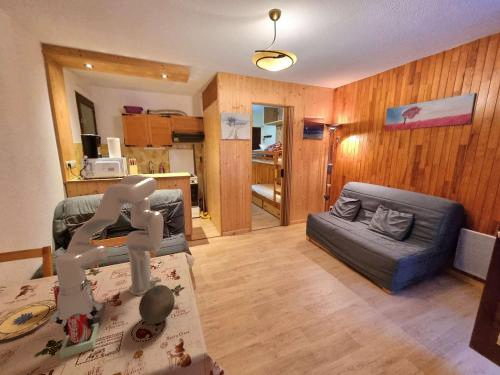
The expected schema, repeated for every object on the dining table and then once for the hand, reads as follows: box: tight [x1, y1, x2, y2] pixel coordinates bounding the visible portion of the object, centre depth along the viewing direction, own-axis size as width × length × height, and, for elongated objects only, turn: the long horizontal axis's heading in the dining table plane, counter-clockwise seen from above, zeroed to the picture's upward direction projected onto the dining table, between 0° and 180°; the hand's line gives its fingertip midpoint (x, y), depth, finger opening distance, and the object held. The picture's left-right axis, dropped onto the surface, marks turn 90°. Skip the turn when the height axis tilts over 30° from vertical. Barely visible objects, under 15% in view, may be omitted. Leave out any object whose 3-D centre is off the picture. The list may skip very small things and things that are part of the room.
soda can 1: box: [53, 281, 60, 308], centre depth 98 cm, size 7×7×12 cm
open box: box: [59, 302, 106, 360], centre depth 86 cm, size 10×22×3 cm, turn 25°
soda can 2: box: [67, 314, 92, 345], centre depth 79 cm, size 6×6×12 cm
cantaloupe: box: [138, 284, 176, 325], centre depth 90 cm, size 14×14×15 cm
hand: (80, 328), depth 79 cm, fingers closed on soda can 2, 6 cm apart
